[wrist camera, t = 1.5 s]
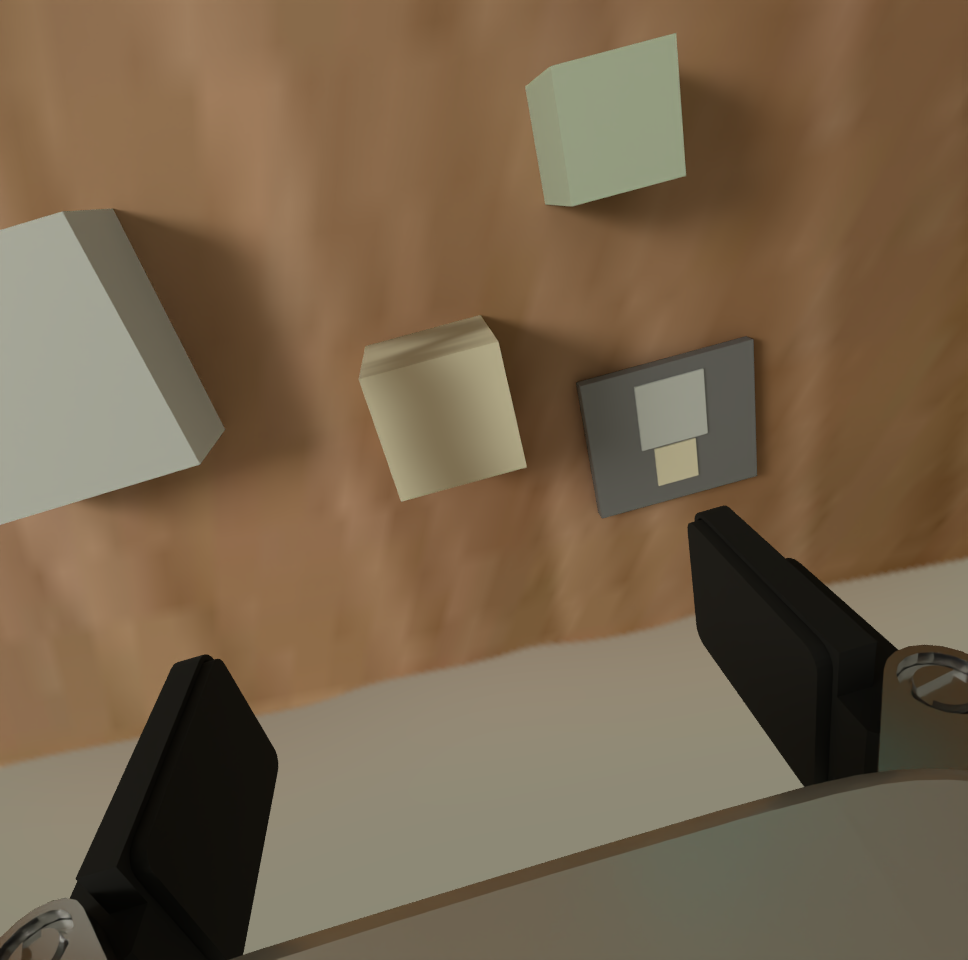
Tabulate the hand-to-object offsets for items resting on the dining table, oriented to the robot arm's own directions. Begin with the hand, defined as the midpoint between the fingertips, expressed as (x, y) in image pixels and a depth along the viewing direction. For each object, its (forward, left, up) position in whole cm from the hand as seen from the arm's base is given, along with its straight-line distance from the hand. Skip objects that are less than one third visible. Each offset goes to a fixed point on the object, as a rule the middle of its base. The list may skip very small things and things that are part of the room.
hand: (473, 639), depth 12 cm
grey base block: (+14, -5, -17) cm, 22 cm away
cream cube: (0, 0, -16) cm, 16 cm away
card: (-10, +5, -16) cm, 20 cm away
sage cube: (-8, -8, -16) cm, 20 cm away
